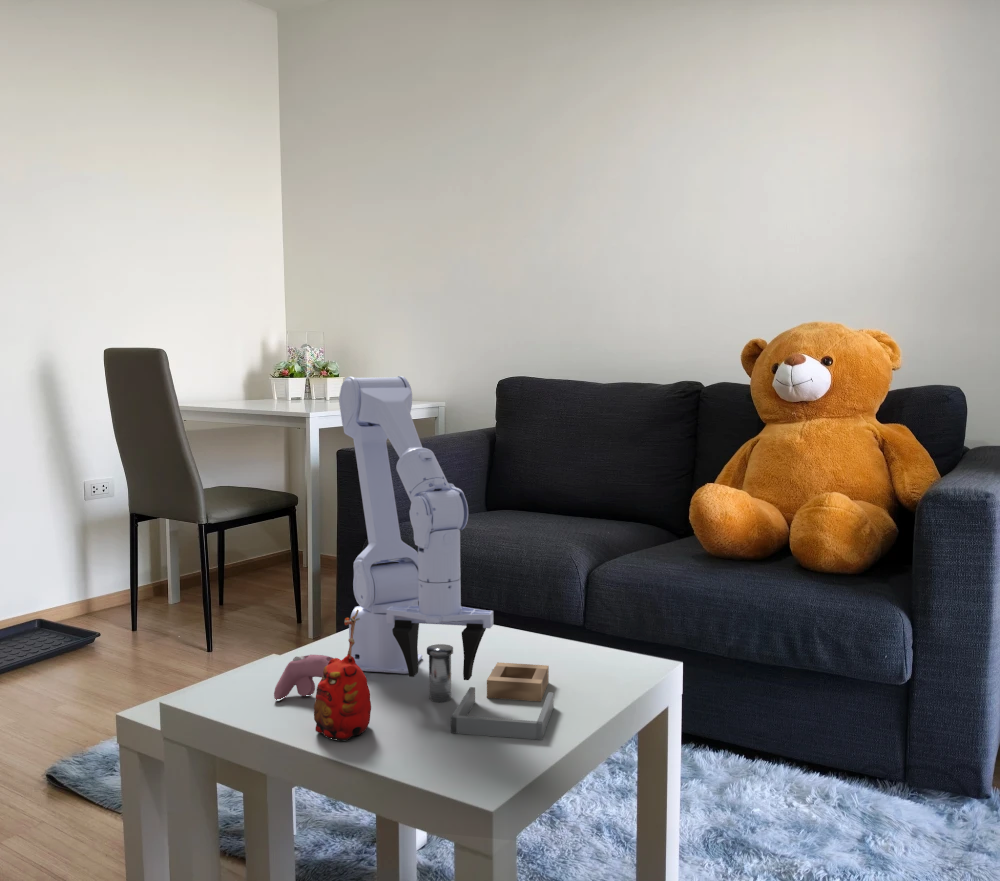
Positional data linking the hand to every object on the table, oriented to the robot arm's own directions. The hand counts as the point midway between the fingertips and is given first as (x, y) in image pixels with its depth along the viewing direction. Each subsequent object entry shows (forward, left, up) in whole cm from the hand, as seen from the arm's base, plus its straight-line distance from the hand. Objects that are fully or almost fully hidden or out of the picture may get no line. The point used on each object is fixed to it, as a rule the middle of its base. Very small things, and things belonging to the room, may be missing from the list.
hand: (440, 676), depth 123 cm
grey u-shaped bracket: (+10, -5, -3) cm, 12 cm away
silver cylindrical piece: (0, 0, -3) cm, 3 cm away
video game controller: (-17, -3, -3) cm, 18 cm away
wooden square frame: (+10, +5, -3) cm, 12 cm away
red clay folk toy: (-9, -13, -3) cm, 16 cm away
